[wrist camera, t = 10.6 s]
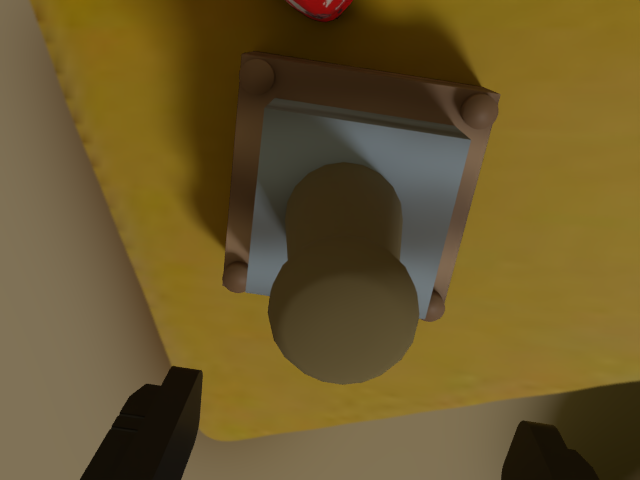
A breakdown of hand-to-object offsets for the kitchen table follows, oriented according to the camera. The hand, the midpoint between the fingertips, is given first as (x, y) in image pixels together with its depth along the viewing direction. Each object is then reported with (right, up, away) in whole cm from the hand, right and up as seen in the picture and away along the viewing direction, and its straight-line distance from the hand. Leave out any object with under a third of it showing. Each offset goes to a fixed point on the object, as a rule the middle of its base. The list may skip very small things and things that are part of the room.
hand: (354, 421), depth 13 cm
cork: (0, +6, +14) cm, 15 cm away
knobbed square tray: (+1, +8, +21) cm, 23 cm away
